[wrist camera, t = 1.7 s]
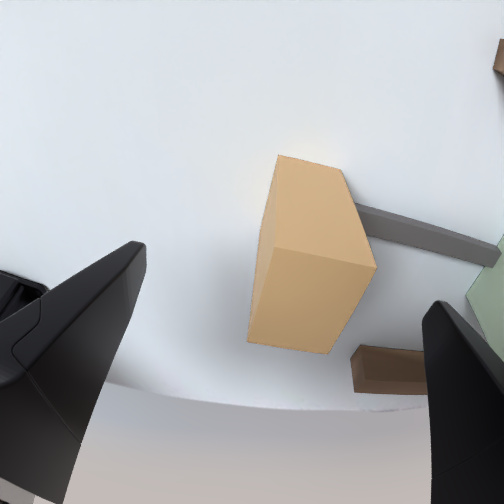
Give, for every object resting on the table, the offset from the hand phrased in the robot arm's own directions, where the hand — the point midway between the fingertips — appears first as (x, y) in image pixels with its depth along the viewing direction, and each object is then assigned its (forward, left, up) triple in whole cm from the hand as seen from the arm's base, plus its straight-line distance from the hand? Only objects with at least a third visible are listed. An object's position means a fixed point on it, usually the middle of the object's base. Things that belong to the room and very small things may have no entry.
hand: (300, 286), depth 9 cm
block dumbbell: (0, -8, -5) cm, 9 cm away
